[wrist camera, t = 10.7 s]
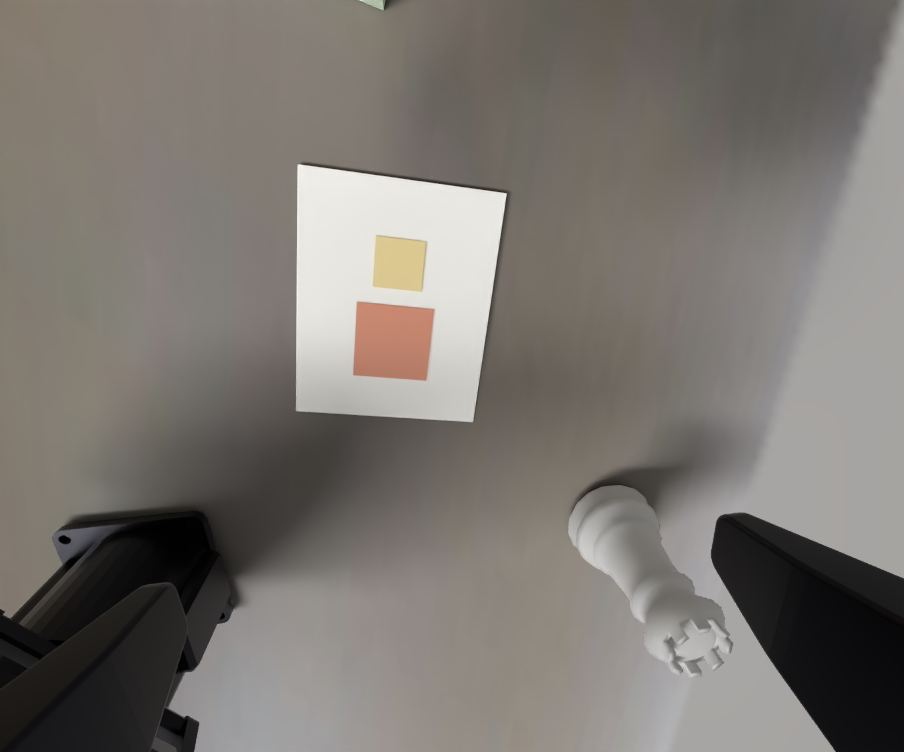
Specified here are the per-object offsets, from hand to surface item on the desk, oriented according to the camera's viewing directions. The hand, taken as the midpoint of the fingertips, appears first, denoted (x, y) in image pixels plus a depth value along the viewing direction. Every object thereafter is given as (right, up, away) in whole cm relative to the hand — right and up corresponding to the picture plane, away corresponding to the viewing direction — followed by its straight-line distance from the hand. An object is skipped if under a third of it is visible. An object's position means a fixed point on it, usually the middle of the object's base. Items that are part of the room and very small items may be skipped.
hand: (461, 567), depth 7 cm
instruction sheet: (-3, +6, +11) cm, 13 cm away
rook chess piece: (+8, -4, +17) cm, 19 cm away
